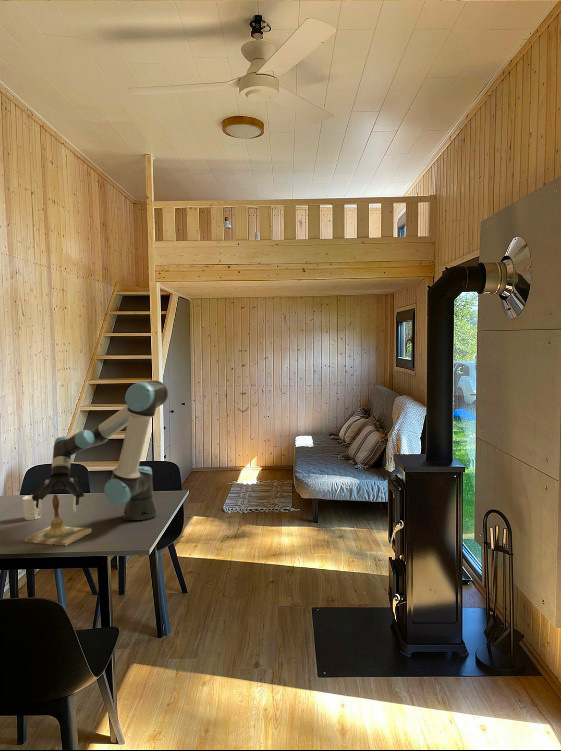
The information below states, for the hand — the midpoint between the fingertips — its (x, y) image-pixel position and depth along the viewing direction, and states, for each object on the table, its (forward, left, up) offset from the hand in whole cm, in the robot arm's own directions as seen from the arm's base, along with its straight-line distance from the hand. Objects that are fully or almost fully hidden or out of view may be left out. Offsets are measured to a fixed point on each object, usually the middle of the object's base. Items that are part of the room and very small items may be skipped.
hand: (56, 513), depth 223 cm
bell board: (0, -1, -10) cm, 10 cm away
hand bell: (+1, -1, -9) cm, 9 cm away
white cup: (+30, -20, -11) cm, 38 cm away
